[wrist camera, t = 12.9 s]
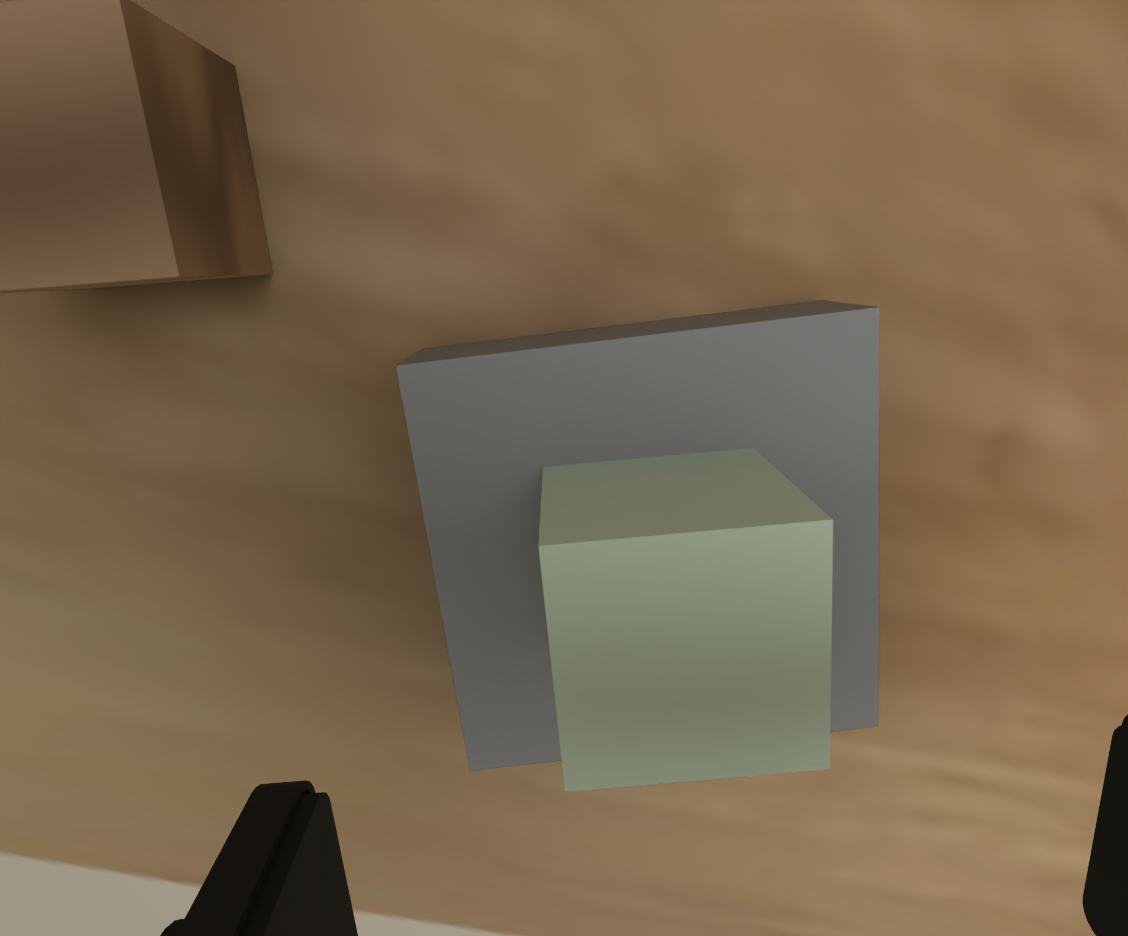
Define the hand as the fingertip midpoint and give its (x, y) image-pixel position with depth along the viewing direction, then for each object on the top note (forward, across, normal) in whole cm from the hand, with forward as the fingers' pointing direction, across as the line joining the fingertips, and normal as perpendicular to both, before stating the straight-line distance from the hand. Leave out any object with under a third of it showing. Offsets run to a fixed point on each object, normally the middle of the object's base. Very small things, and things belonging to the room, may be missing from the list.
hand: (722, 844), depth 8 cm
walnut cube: (+13, +11, -9) cm, 20 cm away
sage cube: (+9, -1, 0) cm, 9 cm away
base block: (+13, -1, +1) cm, 13 cm away
